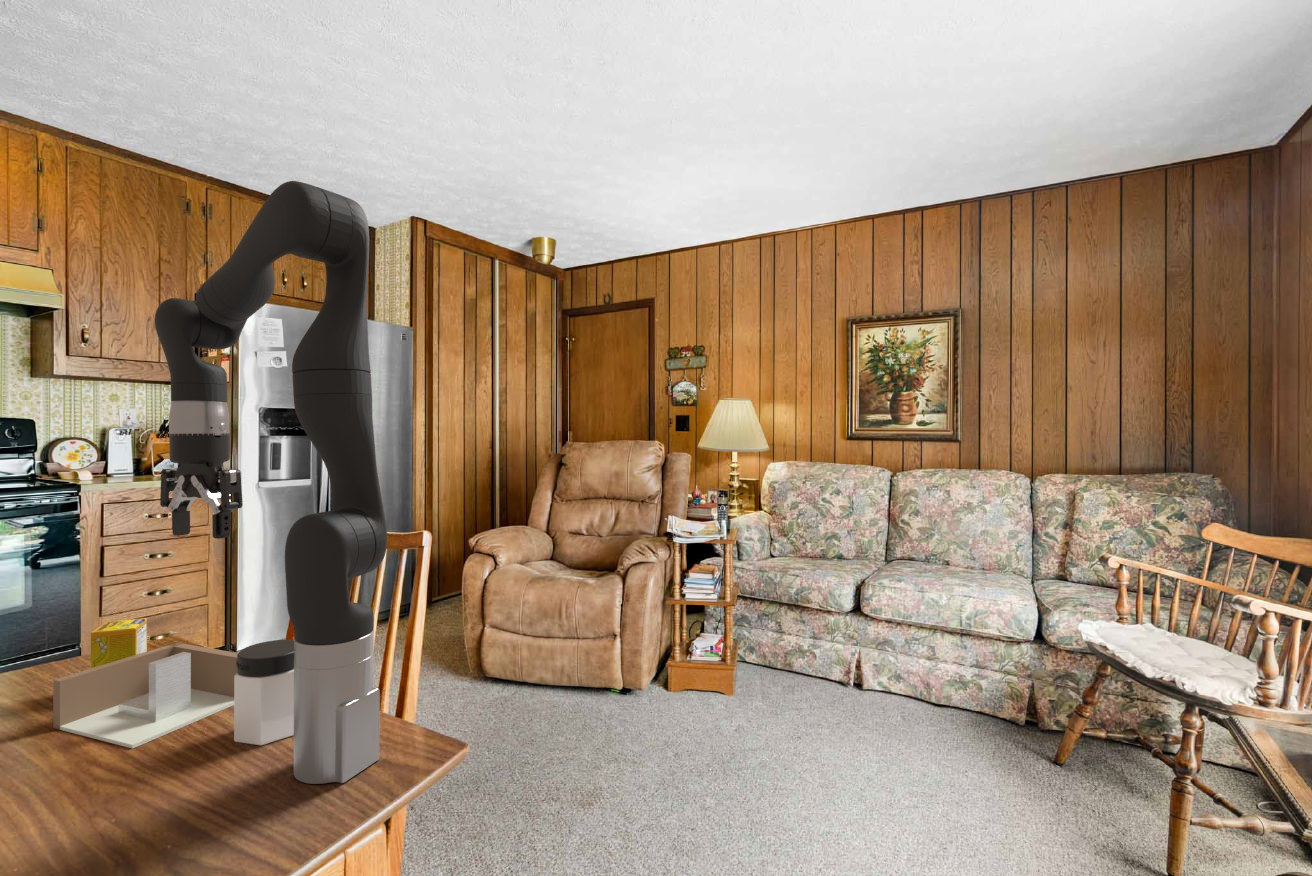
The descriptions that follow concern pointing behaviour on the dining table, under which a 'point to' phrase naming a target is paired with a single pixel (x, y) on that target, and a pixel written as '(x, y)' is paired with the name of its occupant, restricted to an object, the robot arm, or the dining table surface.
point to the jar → (264, 692)
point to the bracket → (163, 690)
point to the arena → (98, 691)
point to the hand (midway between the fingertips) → (201, 536)
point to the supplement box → (118, 641)
